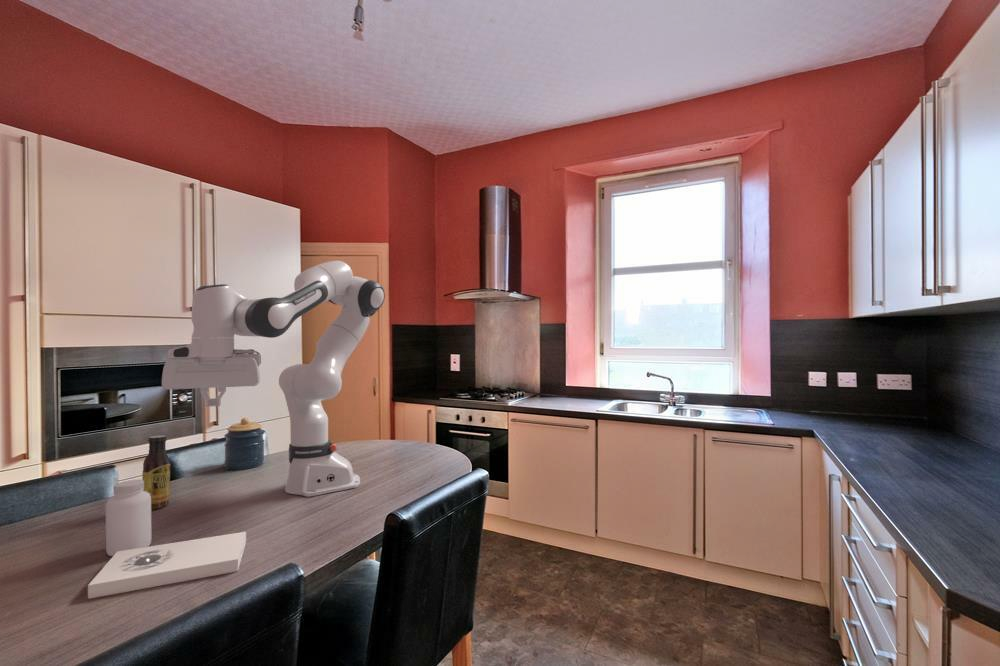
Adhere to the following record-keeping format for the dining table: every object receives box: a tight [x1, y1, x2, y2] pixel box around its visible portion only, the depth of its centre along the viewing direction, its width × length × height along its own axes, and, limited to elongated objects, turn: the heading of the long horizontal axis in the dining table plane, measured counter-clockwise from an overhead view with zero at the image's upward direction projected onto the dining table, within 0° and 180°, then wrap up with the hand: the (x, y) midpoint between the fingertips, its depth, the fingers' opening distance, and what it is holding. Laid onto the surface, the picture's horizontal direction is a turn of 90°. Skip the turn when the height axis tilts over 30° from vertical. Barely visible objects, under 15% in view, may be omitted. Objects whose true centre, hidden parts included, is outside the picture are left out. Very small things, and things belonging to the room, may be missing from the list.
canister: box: [223, 417, 265, 471], centre depth 167 cm, size 13×13×18 cm
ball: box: [134, 556, 153, 566], centre depth 91 cm, size 3×3×3 cm
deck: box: [87, 531, 247, 600], centre depth 94 cm, size 24×14×2 cm, turn 114°
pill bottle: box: [105, 479, 152, 557], centre depth 102 cm, size 8×8×15 cm
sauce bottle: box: [141, 434, 171, 511], centre depth 127 cm, size 7×6×20 cm
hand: (213, 406), depth 110 cm, fingers closed
